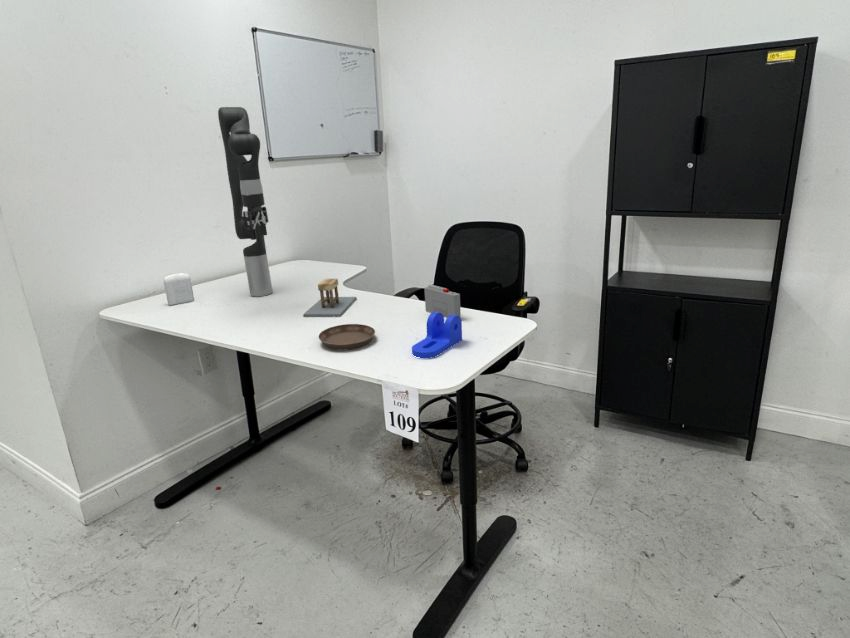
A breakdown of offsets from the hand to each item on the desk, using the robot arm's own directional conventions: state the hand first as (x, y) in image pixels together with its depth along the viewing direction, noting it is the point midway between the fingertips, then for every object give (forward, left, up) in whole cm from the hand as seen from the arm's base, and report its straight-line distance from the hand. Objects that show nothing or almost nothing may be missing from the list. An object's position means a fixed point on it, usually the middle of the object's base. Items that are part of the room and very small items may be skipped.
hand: (259, 237), depth 194 cm
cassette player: (+7, +68, -28) cm, 74 cm away
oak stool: (-2, +24, -27) cm, 36 cm away
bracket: (+38, +70, -28) cm, 84 cm away
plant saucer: (+33, +41, -29) cm, 60 cm away
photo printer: (-10, -44, -28) cm, 53 cm away
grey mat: (-2, +24, -28) cm, 37 cm away
